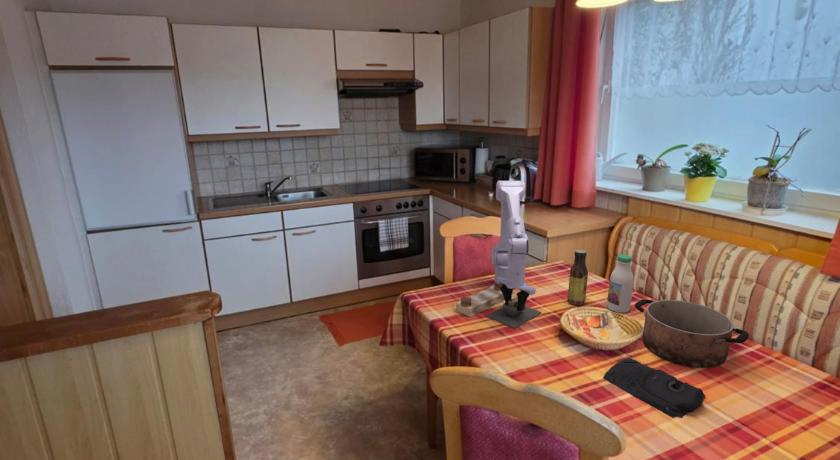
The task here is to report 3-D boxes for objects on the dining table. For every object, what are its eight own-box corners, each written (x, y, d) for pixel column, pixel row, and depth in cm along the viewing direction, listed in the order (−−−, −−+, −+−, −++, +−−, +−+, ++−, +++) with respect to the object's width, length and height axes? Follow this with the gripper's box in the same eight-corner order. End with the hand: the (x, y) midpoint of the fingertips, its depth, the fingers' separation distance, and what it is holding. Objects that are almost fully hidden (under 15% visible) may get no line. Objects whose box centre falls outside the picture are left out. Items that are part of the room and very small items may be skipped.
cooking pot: (616, 340, 142) (620, 309, 138) (649, 319, 155) (654, 290, 152) (725, 385, 119) (733, 349, 116) (753, 356, 133) (760, 323, 130)
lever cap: (514, 305, 161) (515, 295, 160) (525, 309, 158) (525, 299, 157) (502, 311, 157) (503, 301, 156) (513, 316, 154) (514, 305, 153)
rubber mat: (513, 302, 168) (513, 301, 167) (541, 313, 159) (541, 312, 159) (485, 316, 157) (485, 315, 157) (514, 328, 149) (514, 327, 148)
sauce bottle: (586, 306, 164) (591, 255, 158) (568, 305, 165) (573, 254, 160) (583, 299, 170) (588, 249, 164) (566, 297, 171) (571, 248, 166)
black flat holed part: (629, 360, 131) (631, 346, 130) (711, 400, 114) (714, 384, 113) (597, 378, 123) (599, 363, 122) (680, 424, 106) (683, 407, 104)
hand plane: (493, 292, 176) (494, 278, 174) (508, 298, 171) (509, 283, 170) (455, 310, 161) (455, 295, 160) (470, 317, 157) (470, 301, 155)
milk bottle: (625, 304, 166) (632, 252, 160) (633, 313, 158) (640, 260, 153) (603, 303, 167) (609, 252, 161) (610, 313, 159) (616, 259, 154)
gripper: (492, 268, 156) (490, 304, 160) (528, 280, 146) (525, 318, 150) (504, 263, 161) (502, 298, 164) (540, 274, 150) (537, 311, 154)
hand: (514, 307), depth 157 cm, fingers closed on lever cap, 4 cm apart
